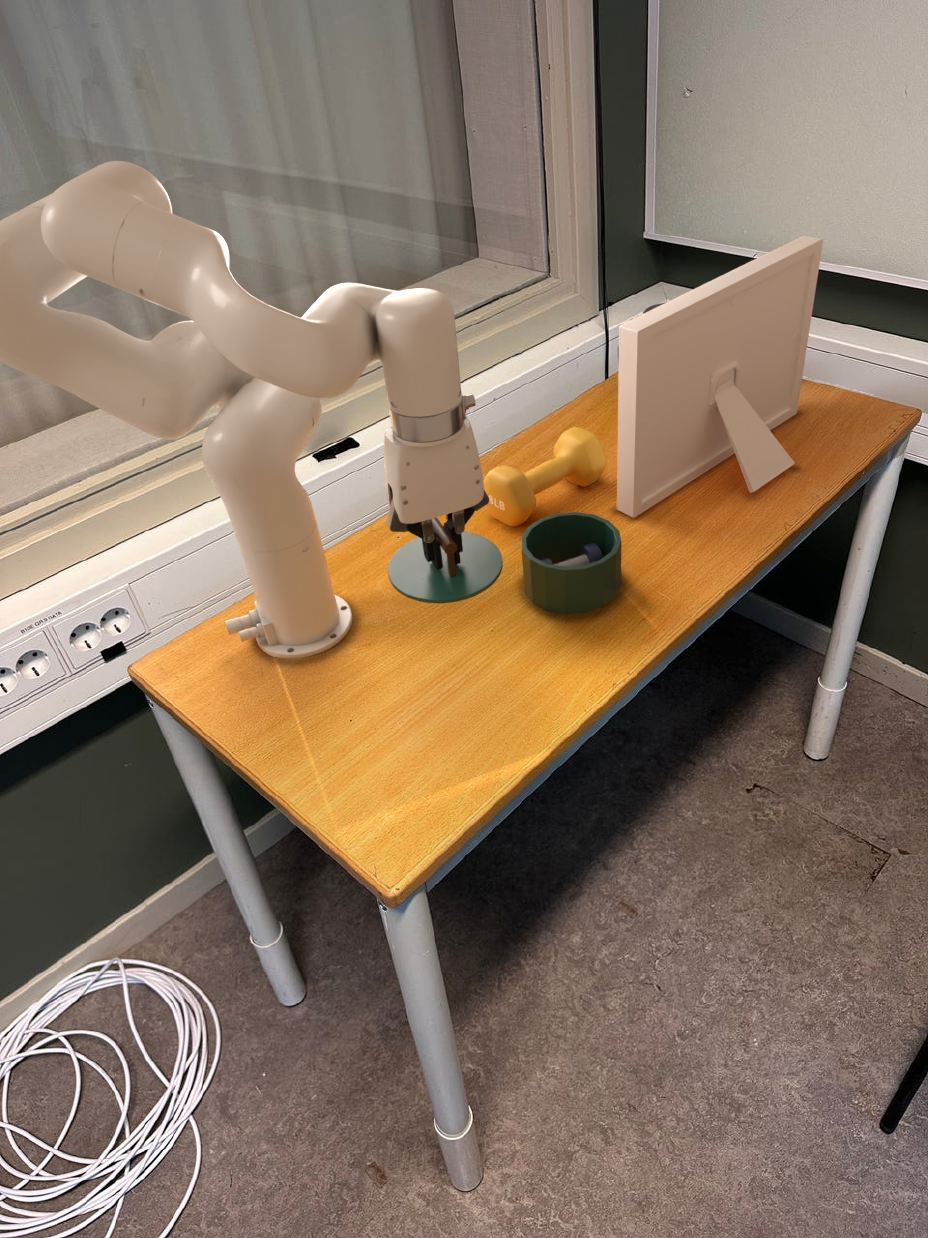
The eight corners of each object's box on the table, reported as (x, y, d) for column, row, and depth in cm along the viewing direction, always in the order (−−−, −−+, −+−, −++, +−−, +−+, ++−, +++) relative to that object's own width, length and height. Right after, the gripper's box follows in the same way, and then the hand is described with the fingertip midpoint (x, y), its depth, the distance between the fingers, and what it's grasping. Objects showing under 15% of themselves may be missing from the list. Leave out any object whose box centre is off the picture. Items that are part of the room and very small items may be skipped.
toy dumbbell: (550, 599, 113) (545, 568, 111) (536, 587, 117) (531, 556, 115) (607, 579, 115) (603, 548, 113) (591, 568, 119) (587, 538, 117)
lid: (410, 621, 98) (404, 579, 94) (374, 557, 107) (366, 516, 104) (521, 585, 101) (519, 543, 97) (476, 526, 110) (473, 486, 107)
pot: (550, 628, 110) (547, 581, 106) (509, 575, 120) (505, 529, 115) (637, 598, 113) (639, 550, 108) (591, 548, 122) (591, 502, 118)
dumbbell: (518, 538, 126) (514, 489, 121) (477, 514, 132) (472, 466, 126) (612, 485, 134) (613, 436, 129) (570, 464, 140) (569, 417, 134)
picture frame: (780, 408, 147) (804, 234, 129) (849, 431, 139) (885, 250, 121) (616, 510, 129) (618, 325, 111) (686, 543, 121) (700, 350, 103)
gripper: (483, 384, 96) (493, 525, 108) (343, 420, 92) (370, 562, 104) (511, 412, 90) (519, 558, 102) (365, 452, 87) (390, 598, 98)
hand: (444, 559), depth 103 cm, fingers closed on lid, 1 cm apart
